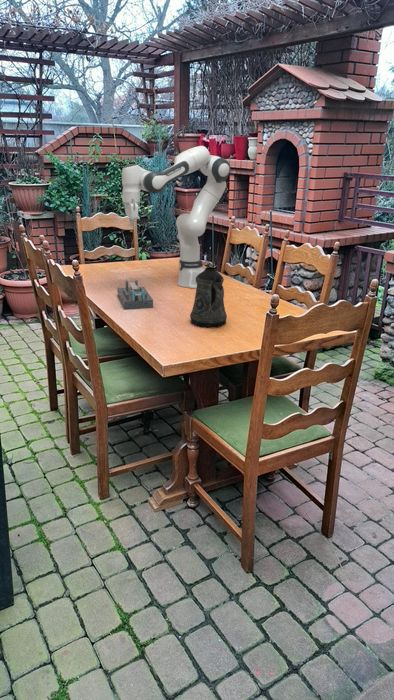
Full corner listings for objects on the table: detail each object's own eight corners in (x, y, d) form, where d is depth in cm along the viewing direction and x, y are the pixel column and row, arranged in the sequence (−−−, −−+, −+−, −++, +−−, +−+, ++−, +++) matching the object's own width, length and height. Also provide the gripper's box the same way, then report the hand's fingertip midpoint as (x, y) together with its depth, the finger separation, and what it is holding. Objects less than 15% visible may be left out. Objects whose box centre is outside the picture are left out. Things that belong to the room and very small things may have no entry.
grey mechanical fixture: (143, 293, 276) (143, 278, 273) (153, 308, 252) (153, 291, 249) (117, 295, 273) (117, 279, 269) (124, 309, 249) (124, 292, 246)
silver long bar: (134, 283, 270) (134, 280, 270) (141, 295, 250) (141, 291, 249) (128, 284, 269) (128, 280, 269) (135, 295, 249) (135, 292, 249)
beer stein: (205, 314, 245) (206, 262, 236) (239, 323, 233) (241, 268, 224) (182, 322, 233) (183, 267, 224) (216, 332, 221) (218, 275, 212)
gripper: (141, 200, 251) (141, 229, 256) (134, 196, 269) (135, 223, 274) (128, 200, 249) (128, 229, 255) (122, 196, 268) (123, 223, 273)
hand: (132, 226), depth 265 cm, fingers closed
